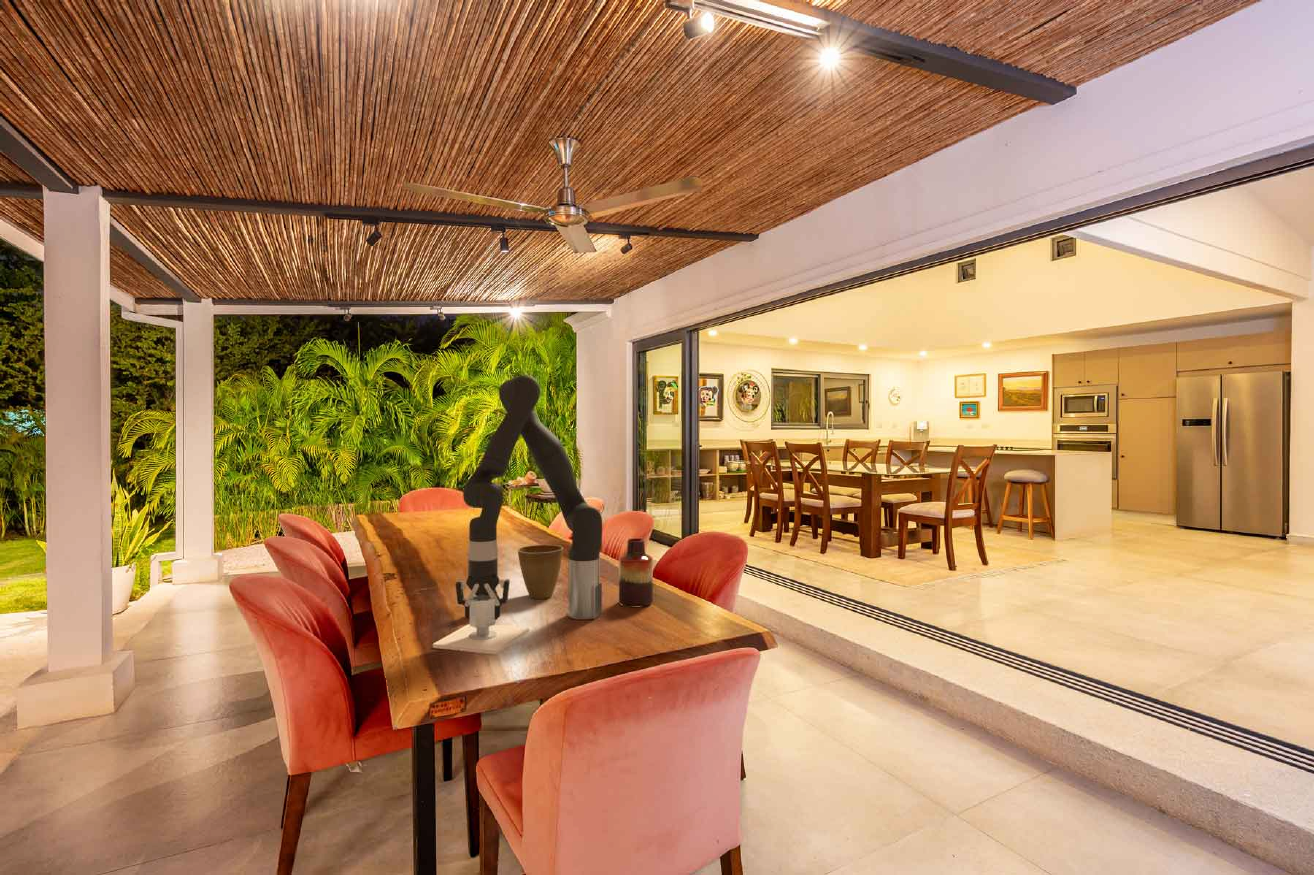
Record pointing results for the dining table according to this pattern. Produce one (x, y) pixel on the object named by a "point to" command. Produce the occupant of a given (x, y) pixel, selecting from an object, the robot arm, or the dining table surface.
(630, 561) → the vase
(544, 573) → the plant pot
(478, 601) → the collar
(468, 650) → the duct flange
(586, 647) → the dining table surface
